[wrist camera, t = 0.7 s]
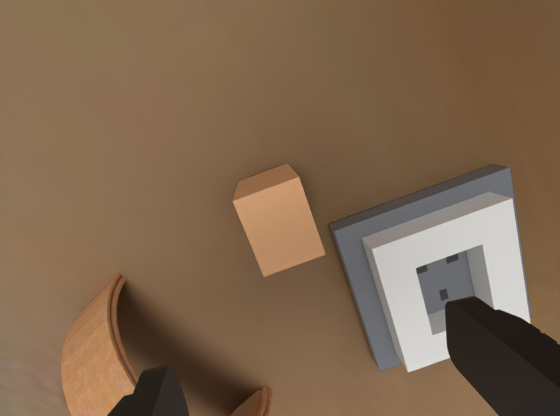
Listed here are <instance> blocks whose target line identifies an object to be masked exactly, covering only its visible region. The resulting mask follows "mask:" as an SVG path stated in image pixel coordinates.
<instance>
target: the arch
mask: <svg viewBox="0 0 560 416" xmlns="http://www.w3.org/2000/svg"><path fill="white" fill-rule="evenodd" d="M125 282H126V278H124V277H122V278H121V274H120V273H118V275H117V276H116V277H115V278H114V279H113V280H112V281H111V282H110V283H109V284H108V285H107V286H106V287H105V288H104V289H103V290H102V291H101V292H100V293H99V294H98V295H97V296H96V297H95V298H94V299H93V300H92V301H91V302H90V303H89V304H88V305H87V306H86V307H85V308H84V309H83V310H82V311H81V312H80V313H79V314H78V315H77V316H76V318H75V319H74V321H73V323H72V325H71V326H70V328H69V330H68V333H67V336H66V339H65V342H64V345H63V351H62V360H61V373H62V385H63V390H64V394H65V397H66V401H67V405H68V409H69V411H70V413H71V415H72V416H107V415H108V414H109V413H110V411H111V410H112V409H113V408H114V407H115V406H116V404H117V403H118V402H119V401H120V400H121V399H122V397H123V396H125V395H129V394H133V391H134V389H135V387H136V384H137V382H138V380H139V377H138V375H137V374H136V372H135V370H134V368H133V367H132V365H131V363H130V361H129V359H128V357H127V355H126V352H125V349H124V347H123V344H122V342H121V338H120V334H119V329H118V324H117V303H118V297H119V294H120V291H121V289H122V287H123V285H124V283H125ZM270 406H271V389H268V390H267V387H266V386H263V387H262V390H258V391H256V392H255V393H254V394H253V395H252V396H251V397H249V398H248V399H247V400H246V401H245V402H244V403H242V404H241V405H240V406H239V407H238V408H237V409H236V410H234V411H233V414H230V415H229V416H269V412H270Z"/></svg>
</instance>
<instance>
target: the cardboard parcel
mask: <svg viewBox="0 0 560 416" xmlns="http://www.w3.org/2000/svg"><path fill="white" fill-rule="evenodd" d="M233 203H234V206H235V208H236V211H237V213H238V215H239V218H240V220H241V223H242V225H243V228H244V230H245V232H246V235H247V237H248V240H249V242H250V244H251V247H252V249H253V252H254V254H255V256H256V259H257V261H258V264H259V266H260V268H261V271H262V273H263V276H264V277H265V276H268V275H271V274H274V273H276V272H279V271H282V270H285V269H287V268H290V267H293V266H296V265H298V264H301V263H304V262H307V261H309V260H312V259H315V258H318V257H320V256H323V255H326V254H325V251H324V248H323V245H322V242H321V239H320V237H319V234H318V231H317V228H316V225H315V222H314V219H313V216H312V213H311V210H310V207H309V205H308V202H307V199H306V196H305V193H304V190H303V187H302V184H301V181H300V178H299V176H298V175H297V174H296V173H295V171H294V170H293V169H292V168H291V167H290V166H289V164H288V163H286V164H284V165H281V166H278V167H276V168H273V169H270V170H267V171H265V172H262V173H259V174H257V175H254V176H251V177H248V178H246V179H243V180H240V181H238V184H237V188H236V191H235V195H234V198H233Z"/></svg>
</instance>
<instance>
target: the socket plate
mask: <svg viewBox="0 0 560 416" xmlns="http://www.w3.org/2000/svg"><path fill="white" fill-rule="evenodd" d="M329 226H330V229H331V232H332V235H333V238H334V241H335V245H336V248H337V251H338V254H339V257H340V260H341V263H342V266H343V269H344V272H345V275H346V278H347V281H348V284H349V287H350V290H351V293H352V296H353V299H354V302H355V305H356V308H357V311H358V314H359V317H360V320H361V323H362V326H363V329H364V332H365V335H366V338H367V342H368V345H369V348H370V351H371V354H372V357H373V359H374V361H375V363H376V365H377V367H378V369H379V371H383V370H386V369H389V368H391V367H394V366H397V365H400V364H403V365H404V366H405V368H406V370H407V371H408V372H411V371H414V370H417V369H419V368H422V367H425V366H428V365H431V364H433V363H436V362H439V361H442V360H445V359H448V358H450V356H449V353H448V350H447V341H446V320H445V305H446V303H447V302H448V301H452V300H457V299H461V298H465V297H470V296H475V297H478V298H479V299H481V300H482V301H483V302H485V303H486V304H488V305H489V306H491V307H492V308H493V309H495V310H498V309H500V310H502V311H505V312H507V313H510V314H513V315H515V316H518V317H520V318H522V319H524V320H525V321H527V322H528V323H530V318H531V311H530V304H529V297H528V290H527V283H526V276H525V269H524V262H523V255H522V248H521V241H520V234H519V227H518V220H517V213H516V206H515V199H514V192H513V185H512V178H511V171H510V167H506V166H500V165H494V164H492V165H489V166H487V167H484V168H481V169H478V170H476V171H473V172H470V173H467V174H465V175H462V176H459V177H456V178H454V179H451V180H448V181H445V182H443V183H440V184H437V185H435V186H432V187H429V188H426V189H424V190H421V191H418V192H415V193H413V194H410V195H407V196H404V197H402V198H399V199H396V200H393V201H391V202H388V203H385V204H382V205H380V206H377V207H374V208H372V209H369V210H366V211H363V212H361V213H358V214H355V215H352V216H350V217H347V218H344V219H341V220H339V221H336V222H333V223H330V224H329Z"/></svg>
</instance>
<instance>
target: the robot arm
mask: <svg viewBox="0 0 560 416" xmlns="http://www.w3.org/2000/svg"><path fill="white" fill-rule="evenodd" d="M445 320H446V341H447V350H448V353H449V356H450V358H451V360H452V362H453V364H454V365H455V367H456V368H457V369H458V371H459V372H460V373H461V374H462V375H463V376H464V377H465V378H466V379H467V381H468V382H469V383H470V384H471V385H472V386H473V387H474V388H475V389H476V391H477V392H478V393H479V394H480V395H481V396H482V397H483V398H484V399H485V401H486V402H487V403H488V404H489V405H490V406H491V407H492V408H493V409H494V411H495V412H496V413H497V414H498V415H499V416H560V345H558V344H557V341H555V340H554V339H552V338H551V337H549V336H548V335H546V334H545V333H543V334H542V333H541V332H540V330H539V329H537V328H536V327H534V326H533V325H531V324H530V323H528V322H527V321H525V320H524V319H522V318H520V317H518V316H515V315H513V314H510V313H507V312H505V311H502V310H500V309H498V310H495V309H493V308H492V307H491V306H489V305H488V304H486V303H485V302H483V301H482V300H481V299H479V298H478V297H475V296H470V297H465V298H461V299H457V300H452V301H448V302H447V303H446V305H445ZM107 416H189V412H188V407H187V404H186V401H185V397H184V394H183V391H182V388H181V385H180V382H179V378H178V375H177V372H176V369H175V367H174V366H173V365H172V364H169V365H165V366H161V367H156V368H152V369H148V370H144V371H143V372H142V373H141V375H140V377H139V380H138V382H137V384H136V387H135V389H134V391H133V394H129V395H125V396H123V397H122V399H121V400H120V401H119V402H118V403H117V404H116V406H115V407H114V408H113V409H112V410H111V411H110V413H109V414H108V415H107Z"/></svg>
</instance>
